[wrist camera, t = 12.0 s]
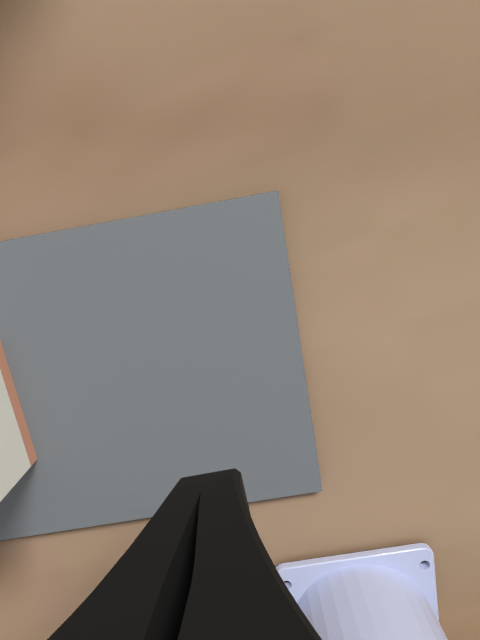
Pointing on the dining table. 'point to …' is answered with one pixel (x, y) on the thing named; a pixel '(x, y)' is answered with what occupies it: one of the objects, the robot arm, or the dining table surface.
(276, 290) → the mat
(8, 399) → the cube
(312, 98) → the dining table surface
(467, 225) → the dining table surface
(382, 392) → the dining table surface
